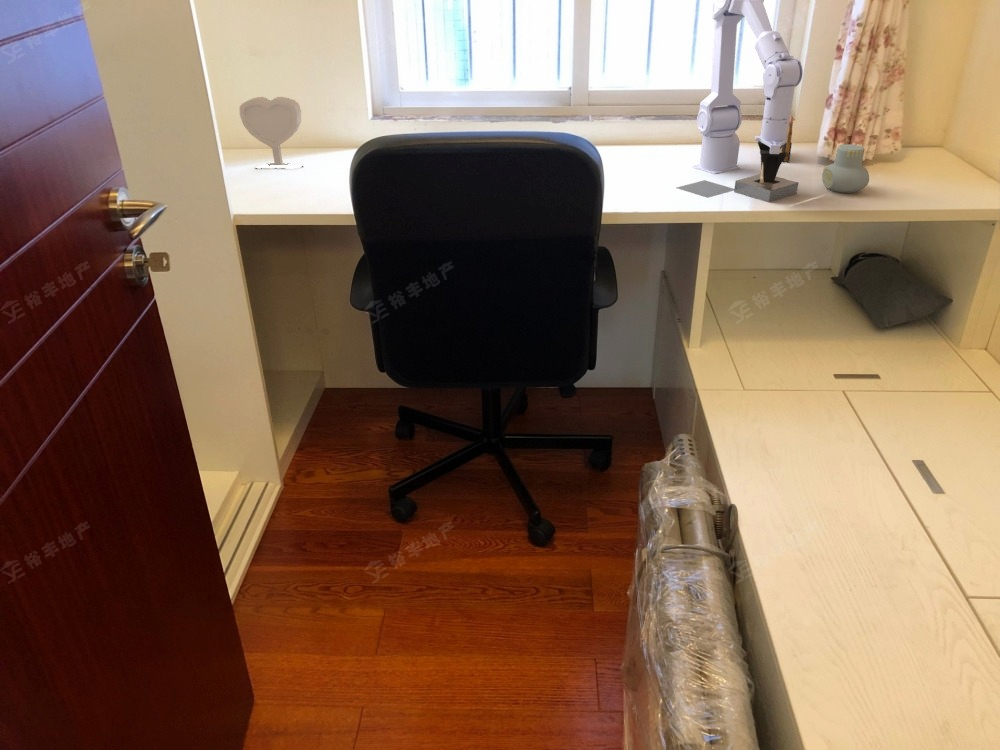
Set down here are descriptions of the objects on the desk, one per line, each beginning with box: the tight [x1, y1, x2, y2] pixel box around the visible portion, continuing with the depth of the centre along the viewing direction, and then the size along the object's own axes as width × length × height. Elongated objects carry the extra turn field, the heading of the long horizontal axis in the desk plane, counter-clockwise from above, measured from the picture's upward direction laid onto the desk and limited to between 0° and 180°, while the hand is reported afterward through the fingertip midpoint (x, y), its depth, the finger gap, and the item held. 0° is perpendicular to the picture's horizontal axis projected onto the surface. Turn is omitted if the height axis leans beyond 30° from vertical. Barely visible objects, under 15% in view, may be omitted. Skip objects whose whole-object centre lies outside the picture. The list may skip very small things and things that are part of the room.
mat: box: [675, 179, 734, 198], centre depth 190 cm, size 10×10×1 cm
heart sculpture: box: [239, 96, 302, 166], centre depth 212 cm, size 16×5×18 cm, turn 85°
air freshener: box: [821, 143, 870, 194], centre depth 185 cm, size 11×8×10 cm
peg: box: [760, 162, 773, 186], centre depth 184 cm, size 3×3×9 cm
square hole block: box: [733, 173, 799, 203], centre depth 185 cm, size 10×10×3 cm
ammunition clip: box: [780, 114, 794, 163], centre depth 211 cm, size 11×2×12 cm, turn 4°
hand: (767, 177), depth 184 cm, fingers open, 7 cm apart
